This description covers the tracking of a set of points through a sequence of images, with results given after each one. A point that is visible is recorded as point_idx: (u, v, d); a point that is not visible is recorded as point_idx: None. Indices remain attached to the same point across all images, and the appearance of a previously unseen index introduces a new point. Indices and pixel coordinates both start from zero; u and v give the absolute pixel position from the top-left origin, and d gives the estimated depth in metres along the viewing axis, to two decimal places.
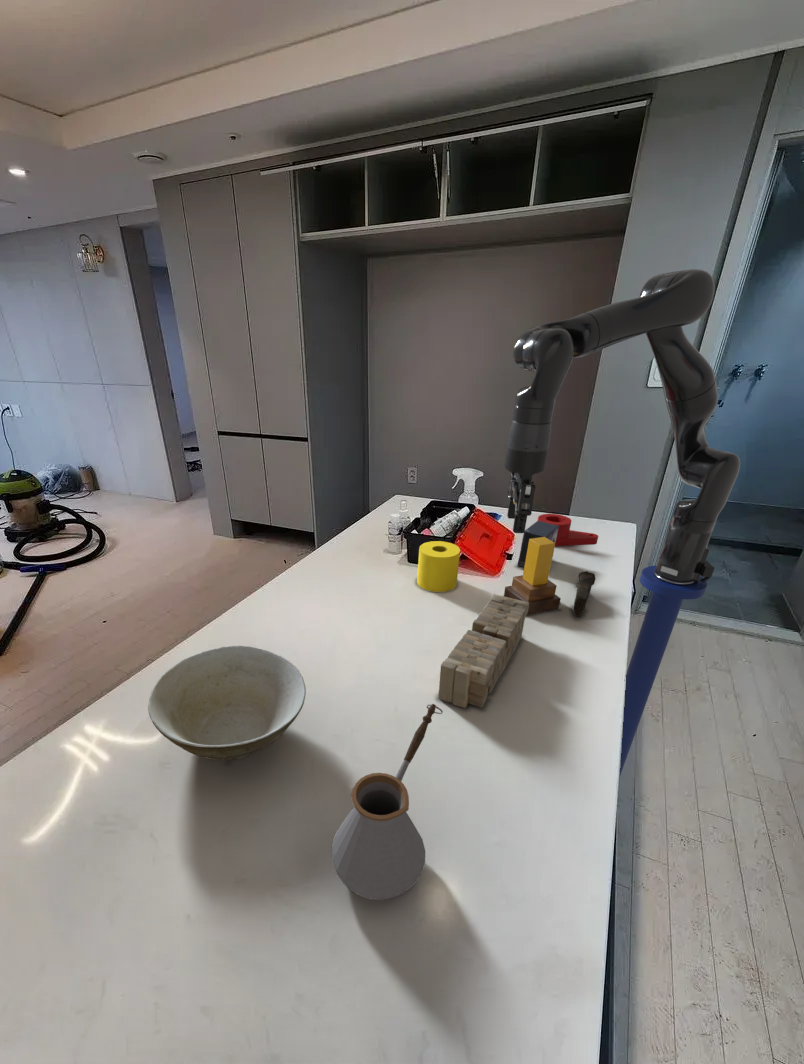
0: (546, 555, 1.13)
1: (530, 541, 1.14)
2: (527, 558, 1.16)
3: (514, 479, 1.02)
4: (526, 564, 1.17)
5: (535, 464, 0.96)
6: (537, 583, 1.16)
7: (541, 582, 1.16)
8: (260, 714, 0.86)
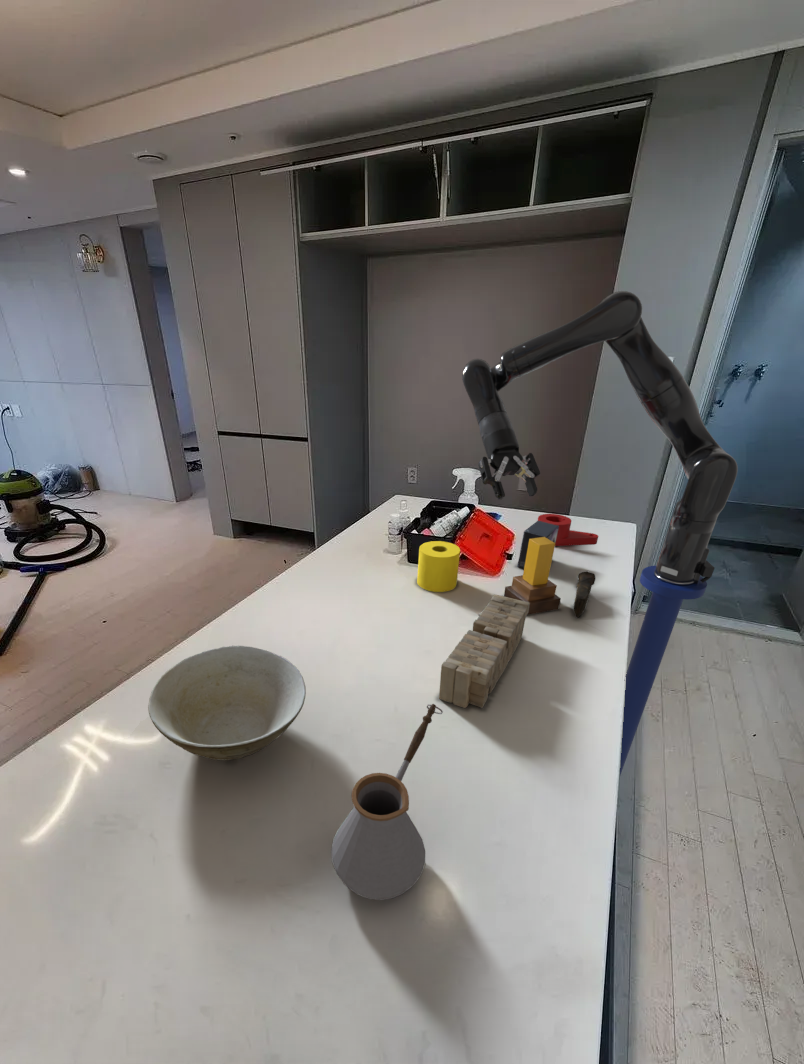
0: (546, 555, 1.13)
1: (530, 541, 1.14)
2: (527, 558, 1.16)
3: None
4: (526, 564, 1.17)
5: (490, 444, 1.20)
6: (537, 583, 1.16)
7: (541, 582, 1.16)
8: (260, 714, 0.86)
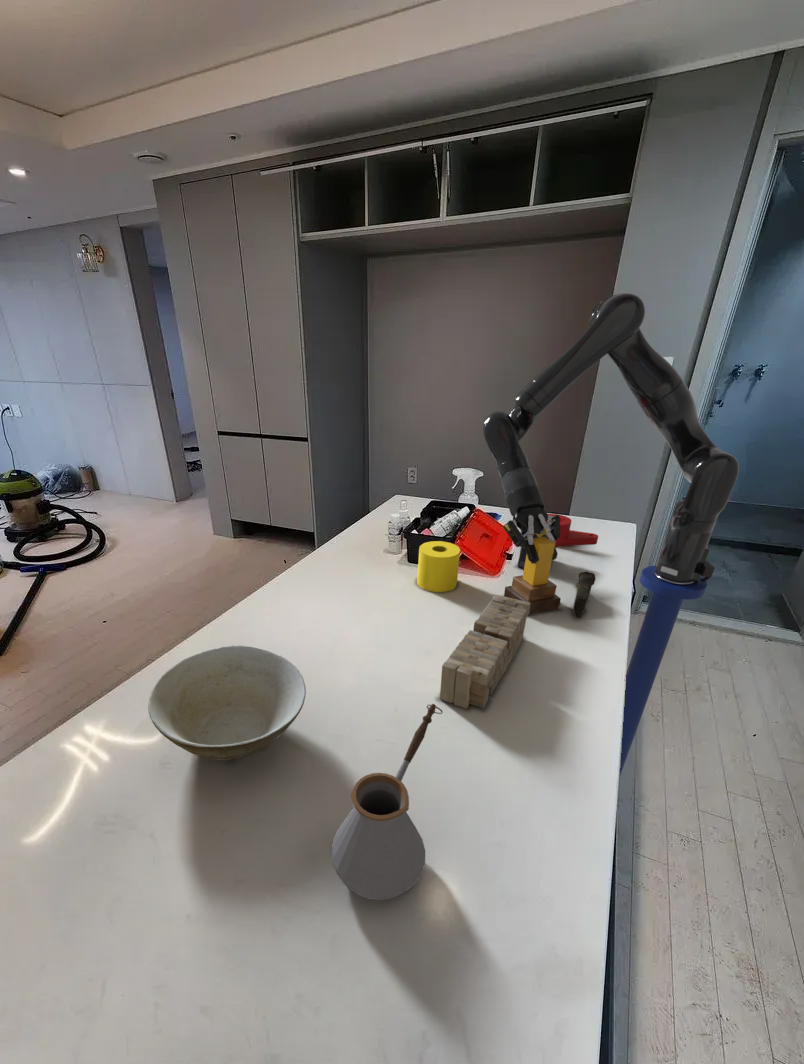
0: (546, 555, 1.13)
1: None
2: (527, 559, 1.16)
3: None
4: (526, 564, 1.17)
5: (514, 501, 1.15)
6: (537, 583, 1.16)
7: (541, 582, 1.16)
8: (260, 714, 0.86)
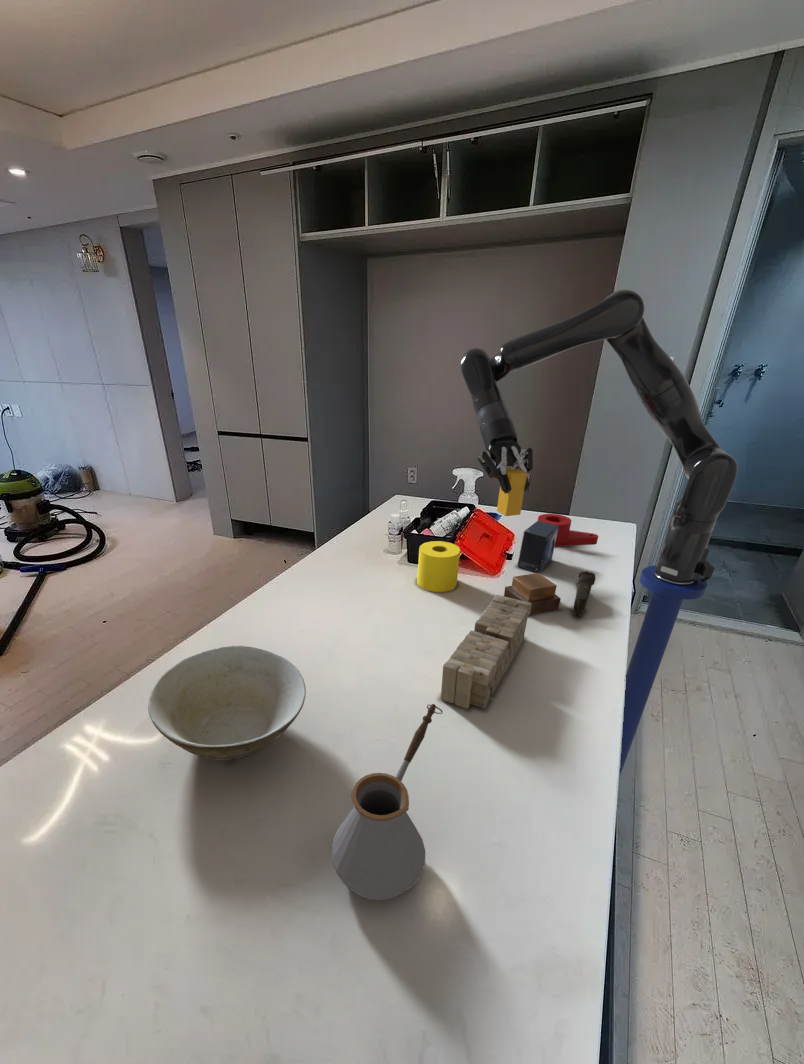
0: (518, 485, 1.17)
1: None
2: (500, 490, 1.20)
3: None
4: (500, 496, 1.21)
5: (488, 434, 1.19)
6: (510, 514, 1.20)
7: (514, 513, 1.20)
8: (260, 714, 0.86)
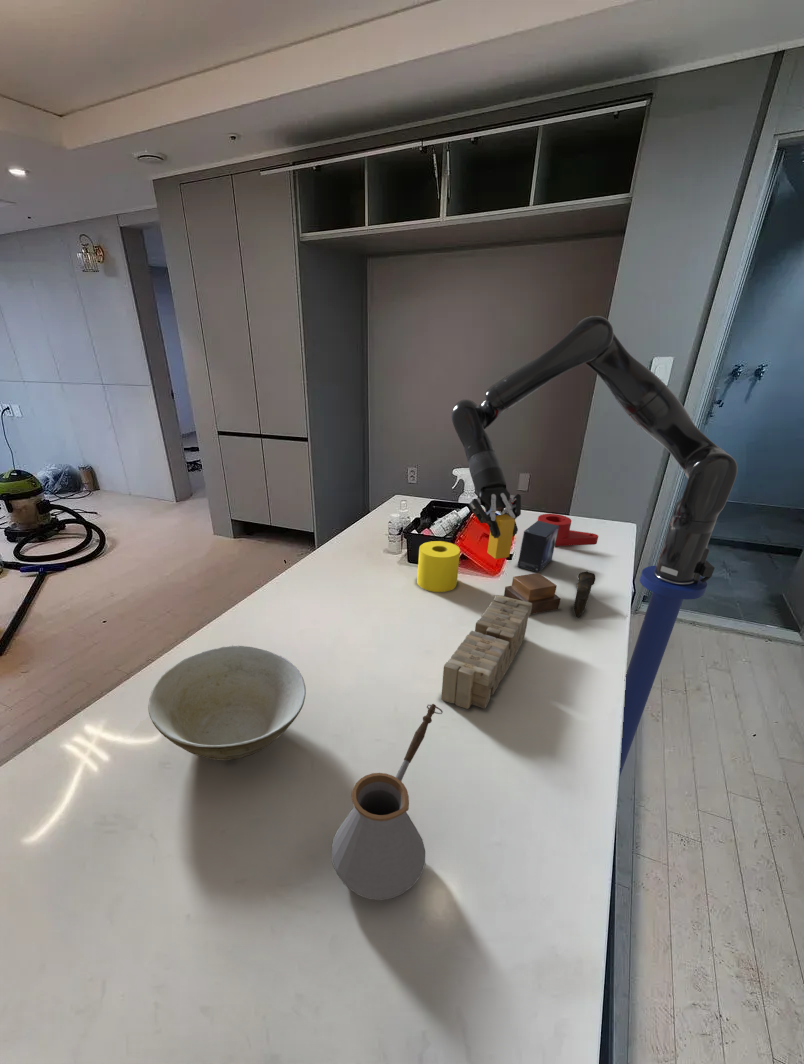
0: (507, 531, 1.24)
1: None
2: (490, 534, 1.27)
3: None
4: (490, 539, 1.27)
5: (479, 482, 1.26)
6: (500, 556, 1.27)
7: (503, 556, 1.27)
8: (260, 714, 0.86)
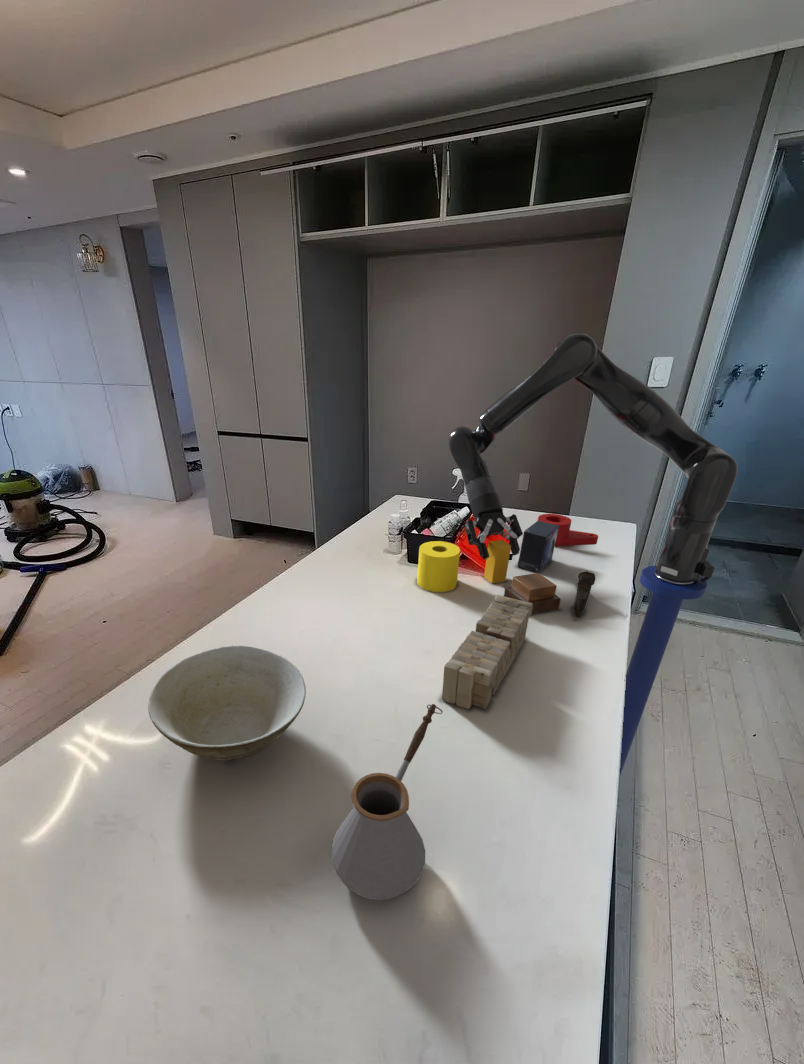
0: (503, 556, 1.27)
1: (489, 543, 1.28)
2: (487, 559, 1.30)
3: None
4: (486, 564, 1.31)
5: (476, 507, 1.29)
6: (496, 581, 1.30)
7: (500, 580, 1.30)
8: (260, 714, 0.86)
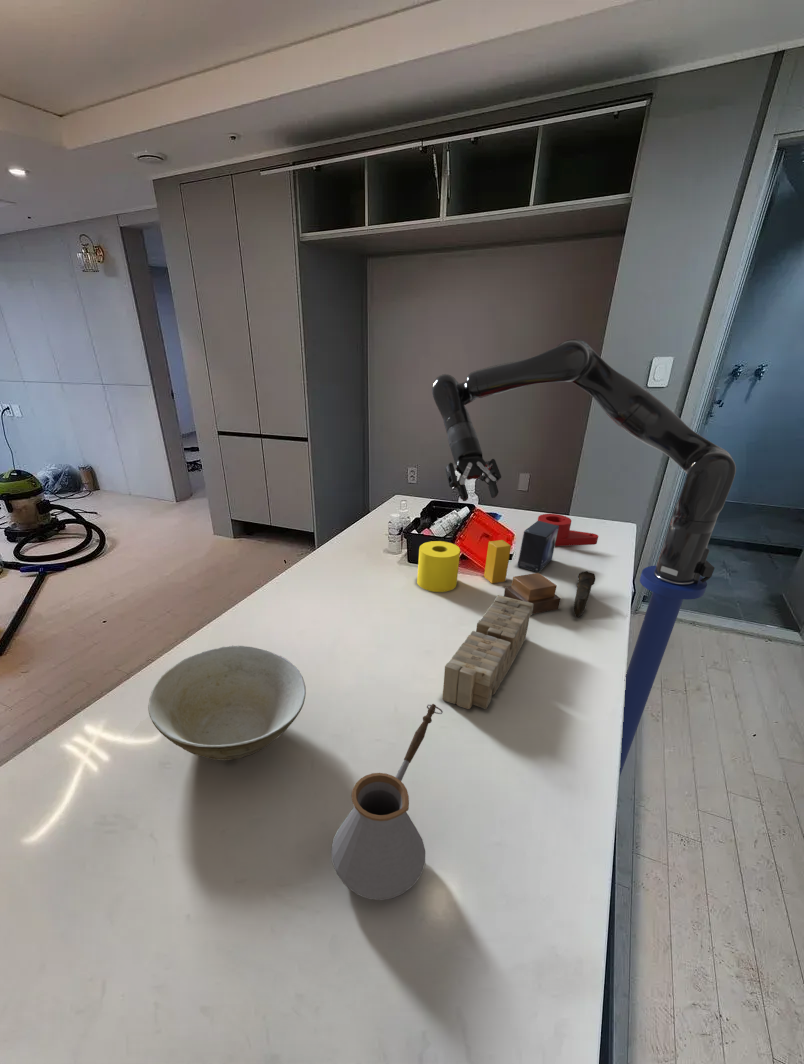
0: (503, 556, 1.27)
1: (489, 543, 1.28)
2: (487, 559, 1.30)
3: None
4: (486, 564, 1.31)
5: (456, 451, 1.34)
6: (496, 581, 1.30)
7: (500, 580, 1.30)
8: (260, 714, 0.86)
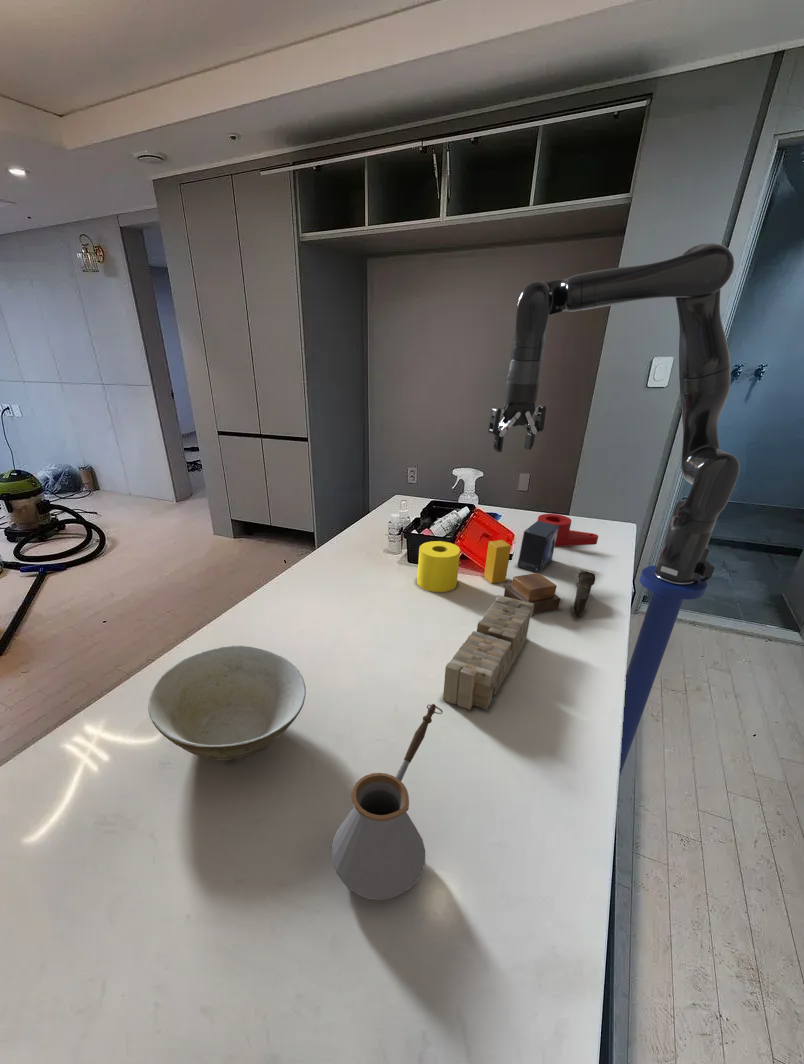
0: (503, 556, 1.27)
1: (489, 543, 1.28)
2: (487, 559, 1.30)
3: None
4: (486, 564, 1.31)
5: (511, 394, 1.20)
6: (496, 581, 1.30)
7: (500, 580, 1.30)
8: (260, 714, 0.86)
